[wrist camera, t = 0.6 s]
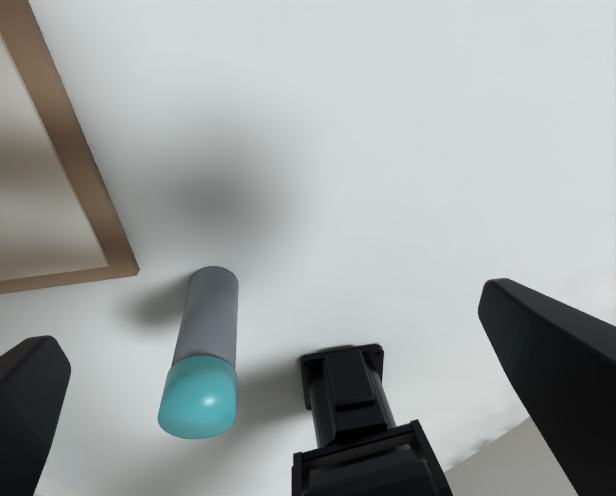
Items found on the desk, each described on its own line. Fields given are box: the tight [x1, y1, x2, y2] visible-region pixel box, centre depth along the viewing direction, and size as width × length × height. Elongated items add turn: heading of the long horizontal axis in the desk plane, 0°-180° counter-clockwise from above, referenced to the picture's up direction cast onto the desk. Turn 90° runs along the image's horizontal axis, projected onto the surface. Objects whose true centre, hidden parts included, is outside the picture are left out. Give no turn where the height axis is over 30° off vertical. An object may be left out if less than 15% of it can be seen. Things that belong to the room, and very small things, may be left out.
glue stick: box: [158, 266, 239, 439], centre depth 19 cm, size 3×3×9 cm
